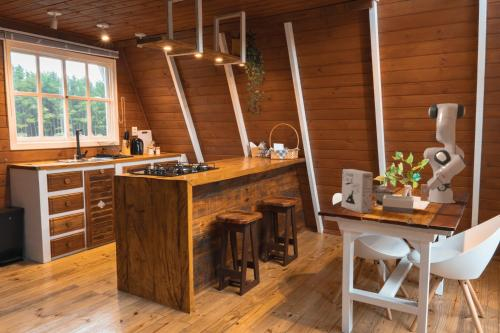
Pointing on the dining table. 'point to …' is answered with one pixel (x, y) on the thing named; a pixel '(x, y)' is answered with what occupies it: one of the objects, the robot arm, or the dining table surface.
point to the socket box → (398, 203)
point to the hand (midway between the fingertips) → (423, 191)
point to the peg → (424, 195)
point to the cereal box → (357, 190)
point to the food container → (382, 195)
